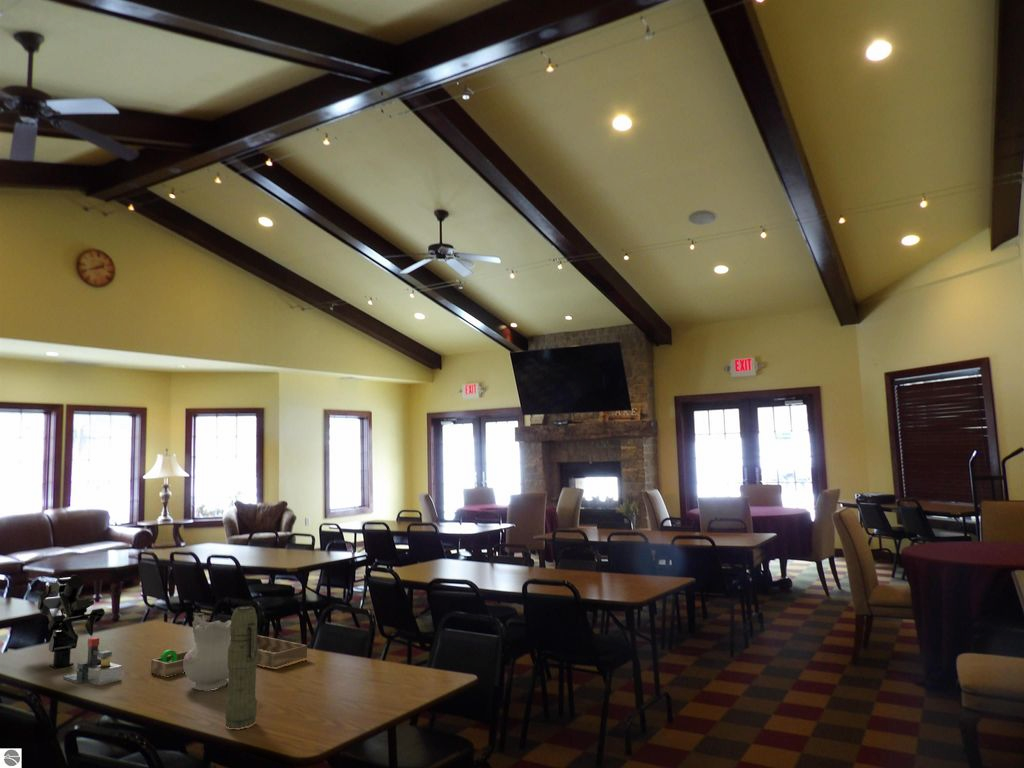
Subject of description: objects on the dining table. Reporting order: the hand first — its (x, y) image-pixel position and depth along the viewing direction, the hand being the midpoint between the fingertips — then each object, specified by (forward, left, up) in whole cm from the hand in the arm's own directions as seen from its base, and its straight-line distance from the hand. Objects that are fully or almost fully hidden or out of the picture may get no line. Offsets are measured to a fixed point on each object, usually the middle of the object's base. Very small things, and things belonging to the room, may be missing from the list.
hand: (83, 636), depth 274 cm
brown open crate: (+42, +51, -14) cm, 67 cm away
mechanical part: (+27, +23, -14) cm, 38 cm away
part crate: (+28, +23, -14) cm, 38 cm away
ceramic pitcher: (+55, +18, -14) cm, 59 cm away
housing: (+17, 0, -14) cm, 22 cm away
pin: (+17, 0, -9) cm, 19 cm away
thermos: (+99, 0, -14) cm, 100 cm away
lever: (+10, 0, -12) cm, 16 cm away
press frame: (+8, 0, -14) cm, 16 cm away
